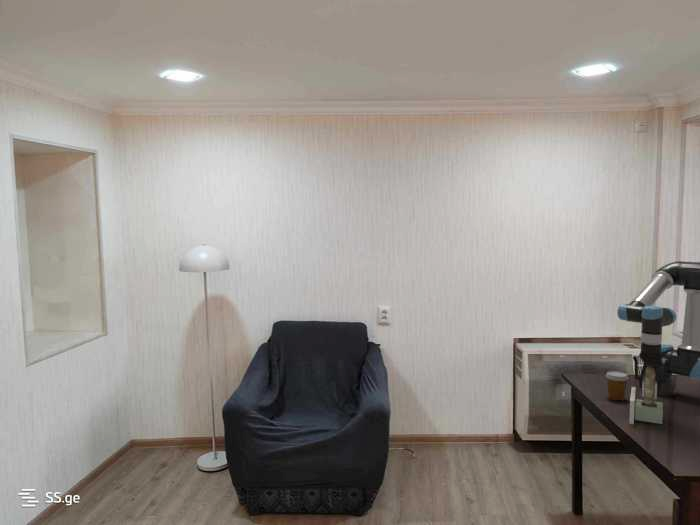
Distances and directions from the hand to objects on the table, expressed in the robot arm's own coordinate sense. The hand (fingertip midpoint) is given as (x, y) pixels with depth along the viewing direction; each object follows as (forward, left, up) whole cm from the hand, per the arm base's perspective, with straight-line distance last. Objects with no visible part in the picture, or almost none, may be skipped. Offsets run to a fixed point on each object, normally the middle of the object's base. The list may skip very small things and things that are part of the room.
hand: (649, 396), depth 223 cm
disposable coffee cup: (-2, -25, -10) cm, 27 cm away
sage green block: (0, 0, -10) cm, 10 cm away
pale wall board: (+5, -4, -10) cm, 11 cm away
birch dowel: (0, 0, -4) cm, 4 cm away
